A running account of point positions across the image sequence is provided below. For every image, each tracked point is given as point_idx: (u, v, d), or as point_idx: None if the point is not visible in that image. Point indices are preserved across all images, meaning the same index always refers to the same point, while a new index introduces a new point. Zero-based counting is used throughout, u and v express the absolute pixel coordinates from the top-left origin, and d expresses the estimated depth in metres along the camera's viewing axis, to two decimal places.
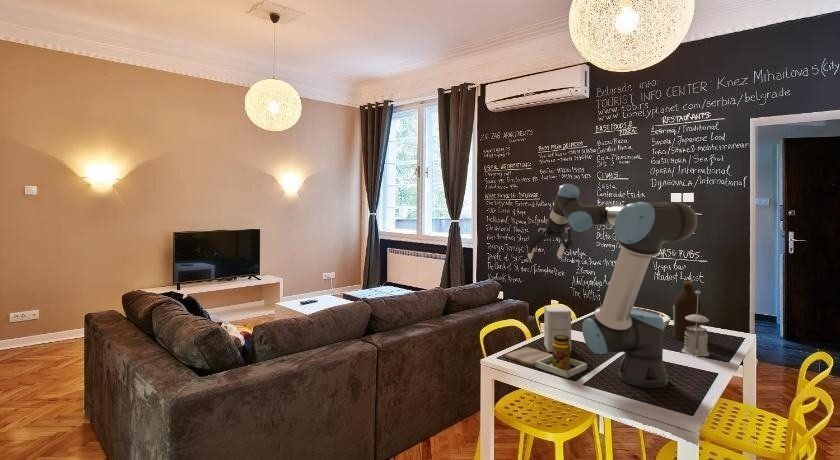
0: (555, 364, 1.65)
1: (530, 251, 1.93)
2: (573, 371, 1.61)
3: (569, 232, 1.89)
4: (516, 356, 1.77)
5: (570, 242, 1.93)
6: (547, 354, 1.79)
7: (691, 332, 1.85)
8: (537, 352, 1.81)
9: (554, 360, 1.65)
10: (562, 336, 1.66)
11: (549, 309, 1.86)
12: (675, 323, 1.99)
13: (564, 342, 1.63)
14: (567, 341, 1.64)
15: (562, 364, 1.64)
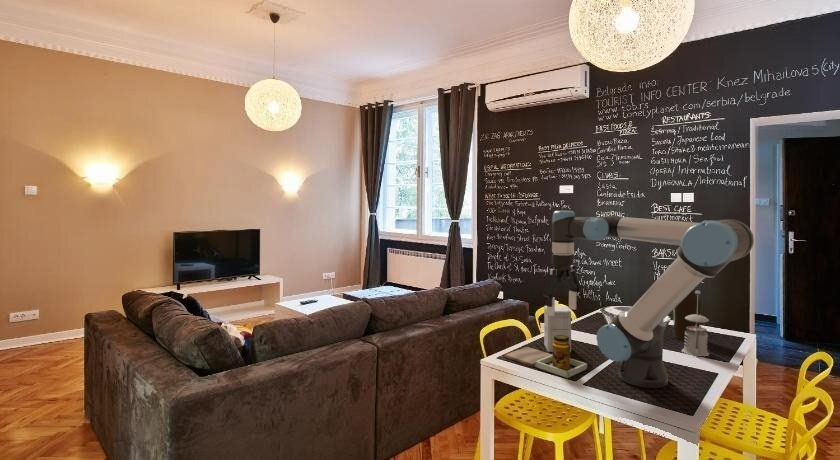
0: (555, 364, 1.65)
1: (551, 303, 1.60)
2: (573, 371, 1.61)
3: (575, 269, 1.68)
4: (516, 356, 1.77)
5: (578, 284, 1.70)
6: (547, 354, 1.79)
7: (691, 332, 1.85)
8: (537, 352, 1.81)
9: (554, 360, 1.65)
10: (562, 336, 1.66)
11: None
12: (675, 323, 1.99)
13: (564, 342, 1.63)
14: (567, 341, 1.64)
15: (562, 364, 1.64)
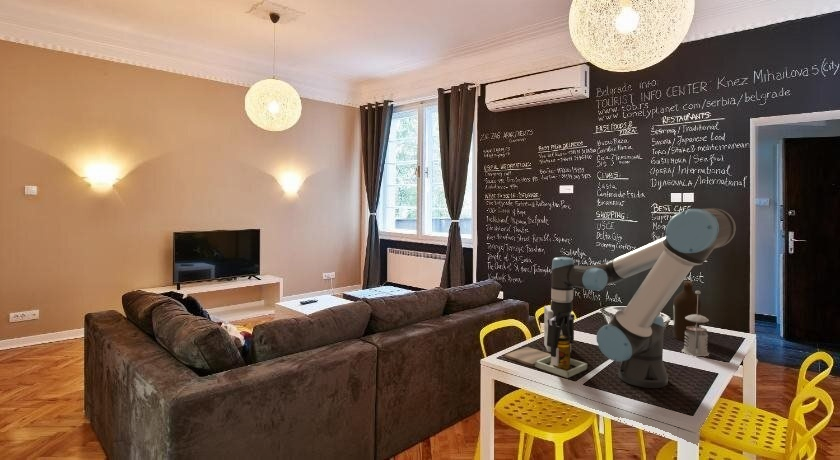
0: None
1: (555, 354, 1.64)
2: (573, 371, 1.61)
3: (573, 318, 1.69)
4: (516, 356, 1.77)
5: (572, 334, 1.70)
6: (547, 354, 1.79)
7: (691, 332, 1.85)
8: (537, 352, 1.81)
9: None
10: (562, 336, 1.67)
11: (549, 309, 1.86)
12: (675, 323, 1.99)
13: (564, 342, 1.64)
14: (567, 341, 1.64)
15: (563, 364, 1.64)
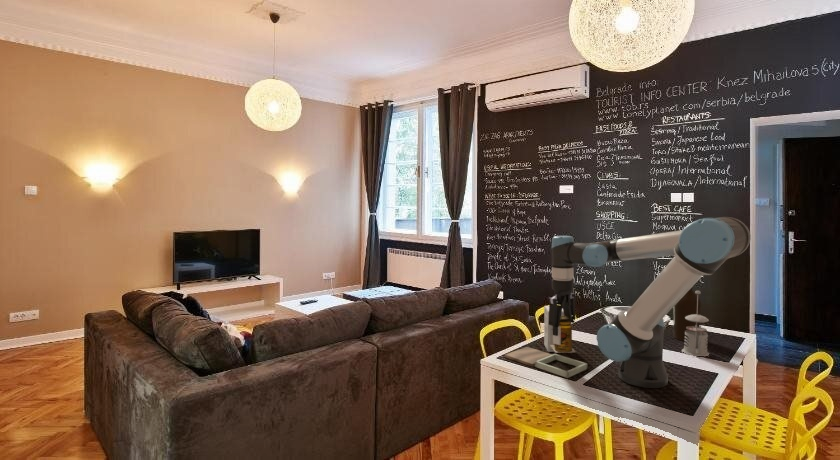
0: (557, 345, 1.65)
1: (557, 332, 1.63)
2: (573, 371, 1.61)
3: (574, 297, 1.68)
4: (516, 356, 1.77)
5: (574, 314, 1.69)
6: (547, 354, 1.79)
7: (691, 332, 1.85)
8: (537, 352, 1.81)
9: None
10: (564, 317, 1.66)
11: None
12: (675, 323, 1.99)
13: (566, 322, 1.63)
14: (569, 321, 1.64)
15: (565, 345, 1.63)
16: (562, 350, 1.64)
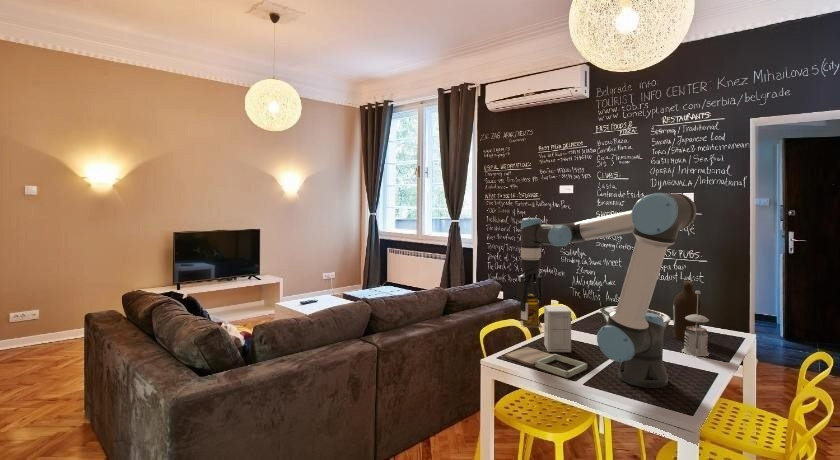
0: (525, 320, 1.75)
1: (524, 308, 1.74)
2: (573, 371, 1.61)
3: (542, 276, 1.79)
4: (516, 356, 1.77)
5: (541, 292, 1.79)
6: (547, 354, 1.79)
7: (691, 332, 1.85)
8: (537, 352, 1.81)
9: None
10: (531, 294, 1.77)
11: (549, 309, 1.86)
12: (675, 323, 1.99)
13: (533, 299, 1.74)
14: (536, 298, 1.74)
15: (532, 320, 1.74)
16: (529, 325, 1.74)
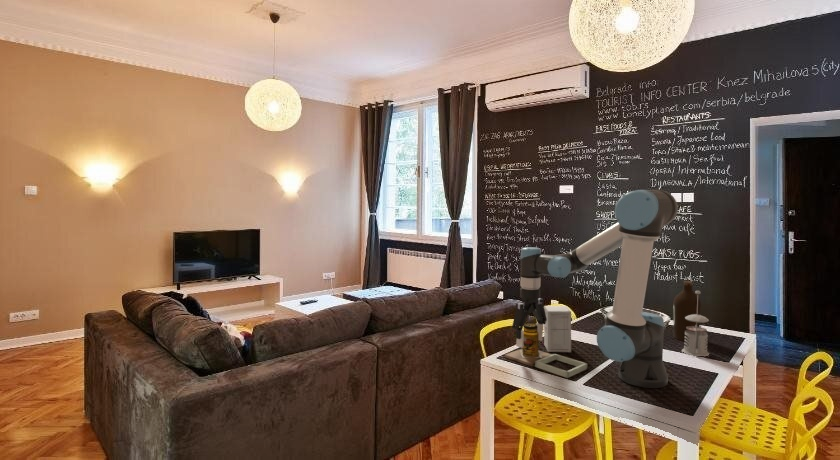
0: (525, 351, 1.76)
1: (520, 336, 1.73)
2: (573, 371, 1.61)
3: (542, 302, 1.80)
4: (516, 356, 1.77)
5: (544, 316, 1.81)
6: (547, 354, 1.79)
7: (691, 332, 1.85)
8: None
9: (524, 347, 1.76)
10: (531, 324, 1.78)
11: (549, 309, 1.86)
12: (675, 323, 1.99)
13: (533, 330, 1.75)
14: (536, 329, 1.75)
15: (531, 351, 1.75)
16: (529, 355, 1.75)
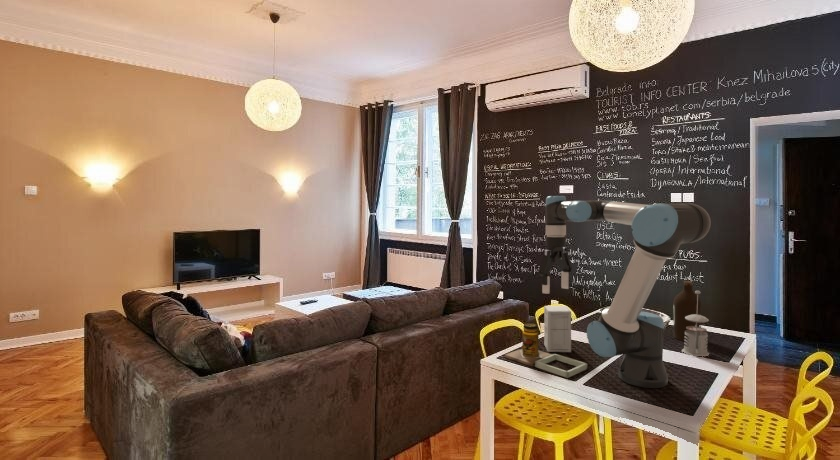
0: (525, 351, 1.76)
1: (546, 282, 1.72)
2: (573, 371, 1.61)
3: (567, 251, 1.80)
4: (516, 356, 1.77)
5: (570, 265, 1.82)
6: (547, 354, 1.79)
7: (691, 332, 1.85)
8: None
9: (524, 347, 1.76)
10: (531, 324, 1.78)
11: (549, 309, 1.86)
12: (675, 323, 1.99)
13: (533, 330, 1.75)
14: (536, 329, 1.75)
15: (531, 351, 1.75)
16: (529, 355, 1.75)
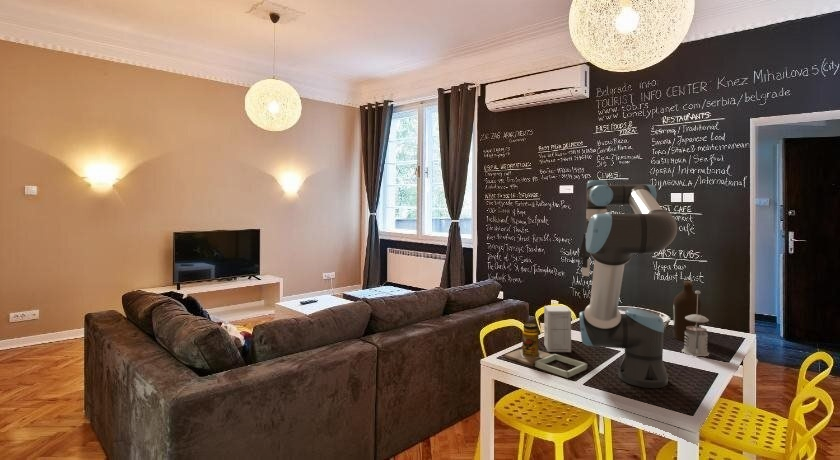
0: (525, 351, 1.76)
1: (586, 264, 1.75)
2: (573, 371, 1.61)
3: None
4: (516, 356, 1.77)
5: None
6: (547, 354, 1.79)
7: (691, 332, 1.85)
8: None
9: (524, 347, 1.76)
10: (531, 324, 1.78)
11: (549, 309, 1.86)
12: (675, 323, 1.99)
13: (533, 330, 1.75)
14: (536, 329, 1.75)
15: (531, 351, 1.75)
16: (529, 355, 1.75)
